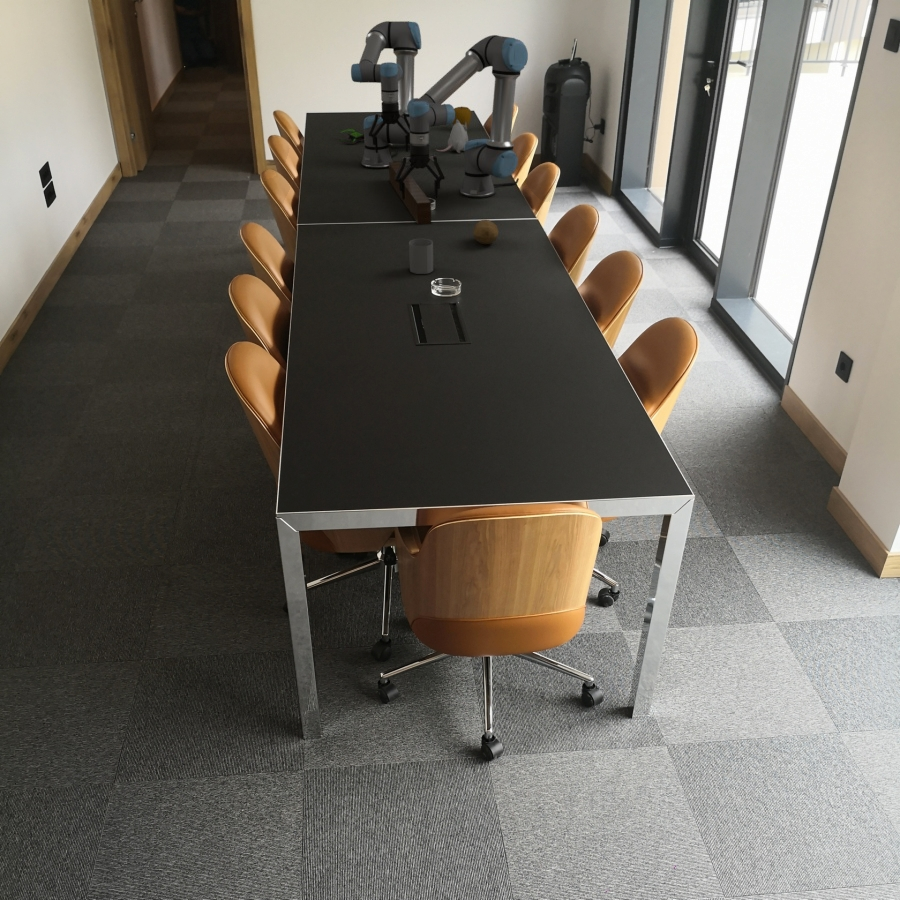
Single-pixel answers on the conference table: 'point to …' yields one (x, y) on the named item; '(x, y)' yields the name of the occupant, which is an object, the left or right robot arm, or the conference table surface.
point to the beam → (411, 195)
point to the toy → (457, 138)
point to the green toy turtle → (353, 136)
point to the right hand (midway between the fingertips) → (419, 197)
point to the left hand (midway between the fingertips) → (391, 151)
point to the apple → (462, 115)
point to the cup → (421, 256)
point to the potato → (485, 232)
